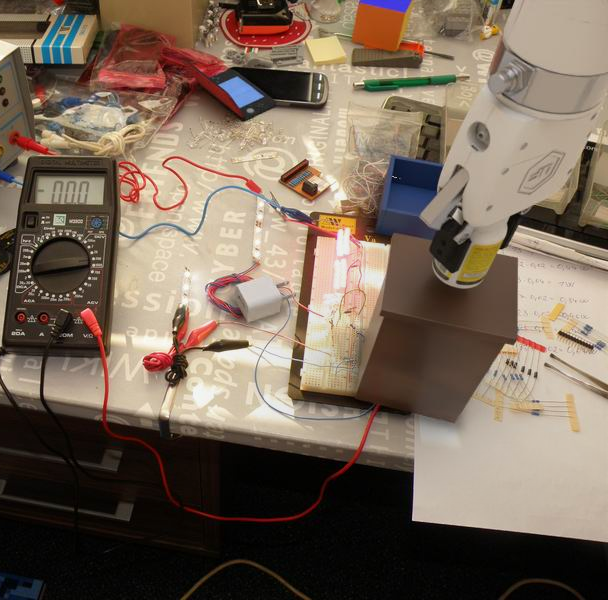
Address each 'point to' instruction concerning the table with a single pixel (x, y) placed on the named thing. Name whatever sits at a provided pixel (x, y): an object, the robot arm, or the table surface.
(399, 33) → the cube
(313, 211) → the table surface
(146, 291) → the table surface
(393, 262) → the walnut stand
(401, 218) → the parts bin
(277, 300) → the usb wall charger
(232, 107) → the handheld console
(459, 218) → the supplement bottle
